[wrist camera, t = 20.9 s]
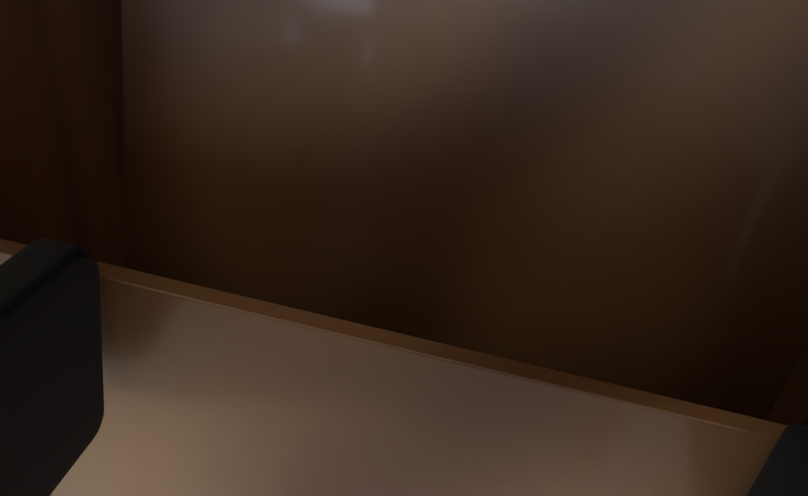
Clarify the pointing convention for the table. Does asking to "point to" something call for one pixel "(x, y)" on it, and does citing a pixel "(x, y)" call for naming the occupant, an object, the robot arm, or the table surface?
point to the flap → (371, 412)
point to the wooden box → (443, 171)
